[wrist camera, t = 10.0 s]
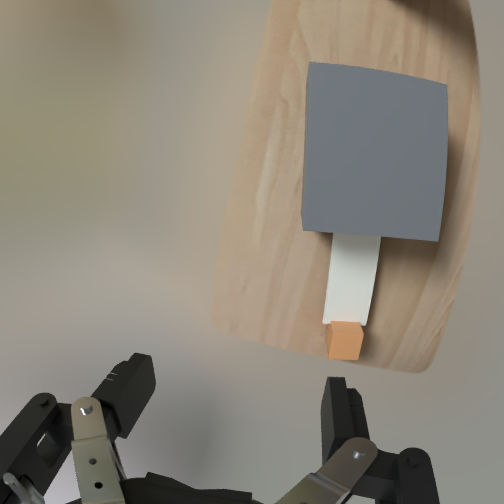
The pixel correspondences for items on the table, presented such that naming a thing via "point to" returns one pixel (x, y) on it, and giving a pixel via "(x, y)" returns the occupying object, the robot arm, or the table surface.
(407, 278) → the table surface
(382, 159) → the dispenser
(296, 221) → the table surface
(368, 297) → the white and orange bar
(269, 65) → the table surface
